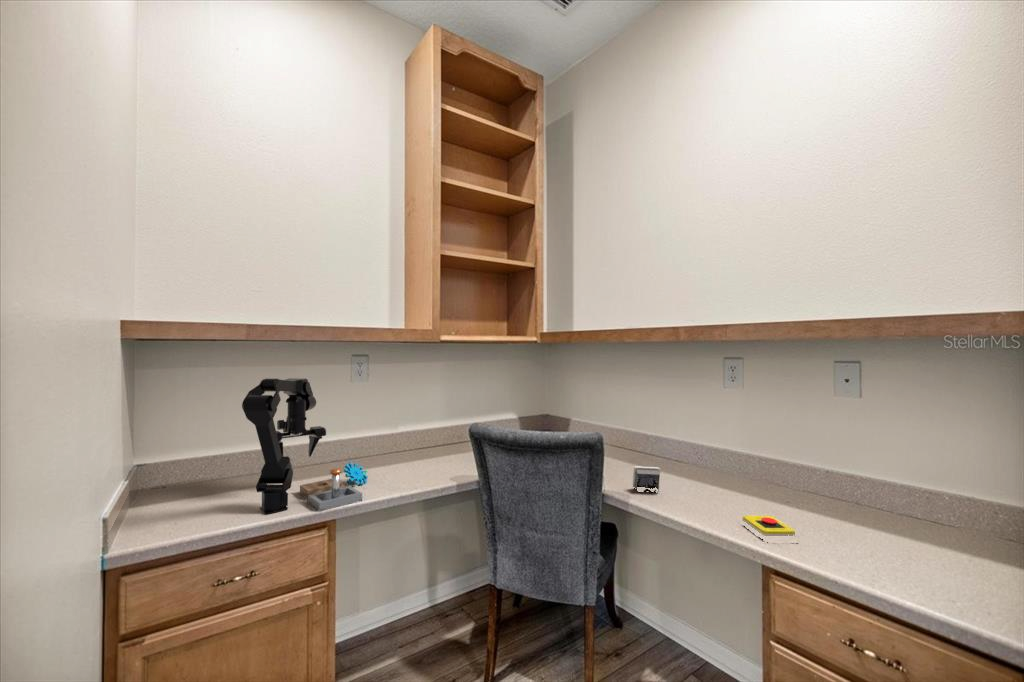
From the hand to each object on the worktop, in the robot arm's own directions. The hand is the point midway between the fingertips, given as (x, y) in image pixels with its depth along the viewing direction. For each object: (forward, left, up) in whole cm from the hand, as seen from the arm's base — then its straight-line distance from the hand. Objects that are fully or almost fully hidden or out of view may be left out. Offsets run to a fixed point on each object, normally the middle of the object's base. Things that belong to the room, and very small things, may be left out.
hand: (296, 458), depth 154 cm
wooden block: (+7, -6, -12) cm, 15 cm away
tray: (+7, -18, -12) cm, 23 cm away
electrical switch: (+94, -83, -12) cm, 126 cm away
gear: (+20, -4, -12) cm, 24 cm away
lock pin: (+7, -18, -11) cm, 22 cm away
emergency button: (+88, -124, -13) cm, 152 cm away
